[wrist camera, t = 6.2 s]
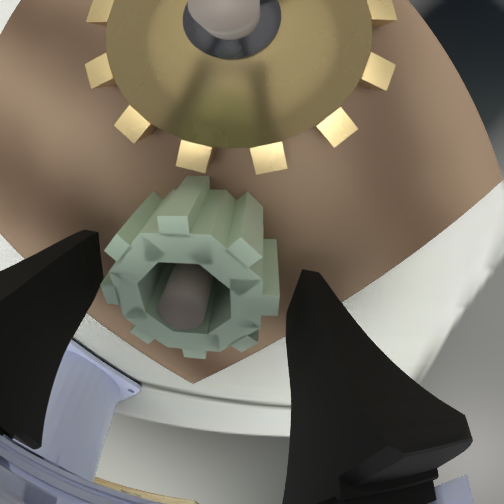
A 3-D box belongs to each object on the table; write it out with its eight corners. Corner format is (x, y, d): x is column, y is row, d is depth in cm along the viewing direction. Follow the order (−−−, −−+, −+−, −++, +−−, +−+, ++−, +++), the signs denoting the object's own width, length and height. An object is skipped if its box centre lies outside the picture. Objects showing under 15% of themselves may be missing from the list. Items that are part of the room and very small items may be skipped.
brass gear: (234, 212, 10) (222, 270, 8) (65, 57, 7) (-1, 62, 4) (427, 60, 7) (490, 62, 4) (245, -104, 4) (237, -155, 1)
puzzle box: (84, 471, 58) (111, 488, 71) (80, 482, 54) (109, 497, 67) (197, 500, 57) (207, 508, 70) (196, 513, 54) (205, 519, 66)
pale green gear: (209, 318, 13) (198, 375, 11) (111, 242, 11) (76, 291, 9) (306, 249, 11) (317, 306, 8) (196, 143, 9) (167, 171, 6)
